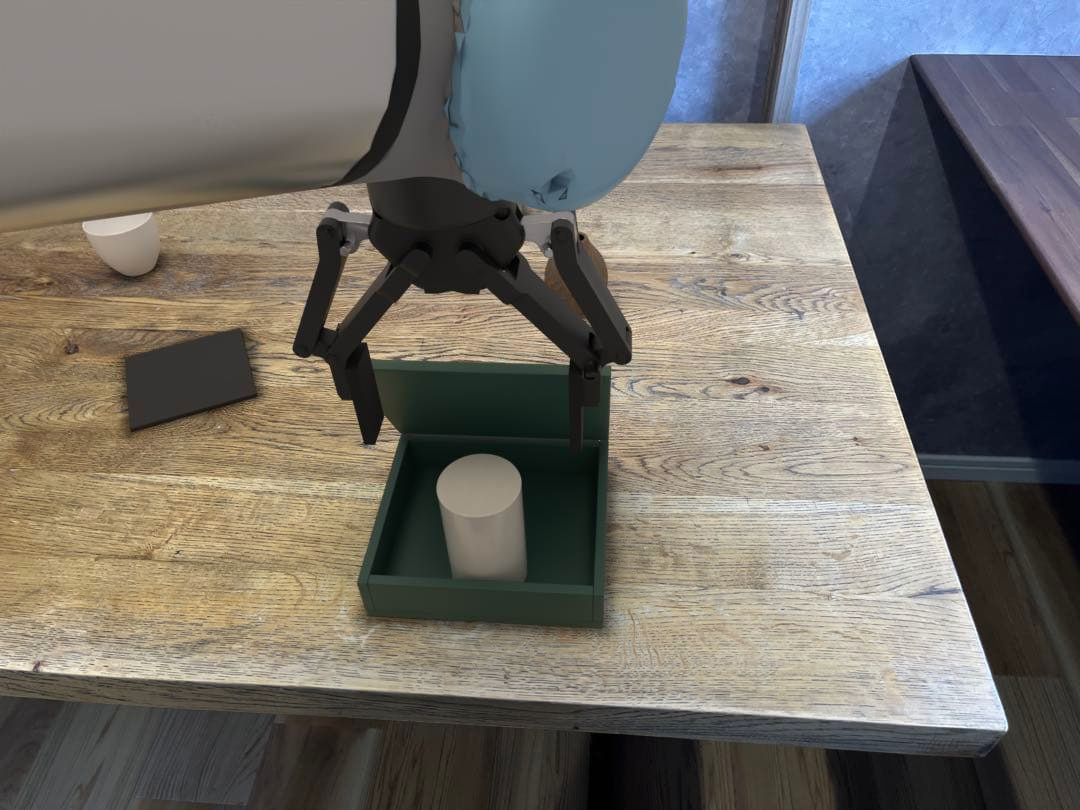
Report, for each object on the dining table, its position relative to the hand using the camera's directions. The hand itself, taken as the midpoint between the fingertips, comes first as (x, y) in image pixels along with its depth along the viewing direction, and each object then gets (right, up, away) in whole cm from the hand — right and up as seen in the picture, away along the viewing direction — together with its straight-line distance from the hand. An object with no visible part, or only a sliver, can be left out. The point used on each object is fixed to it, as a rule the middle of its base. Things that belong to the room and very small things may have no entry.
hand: (474, 434), depth 54 cm
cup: (-46, +19, +47) cm, 68 cm away
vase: (+8, +13, +37) cm, 40 cm away
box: (+1, -9, +13) cm, 16 cm away
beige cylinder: (0, -11, +10) cm, 15 cm away
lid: (+1, +2, +8) cm, 8 cm away
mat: (-32, +5, +30) cm, 44 cm away
